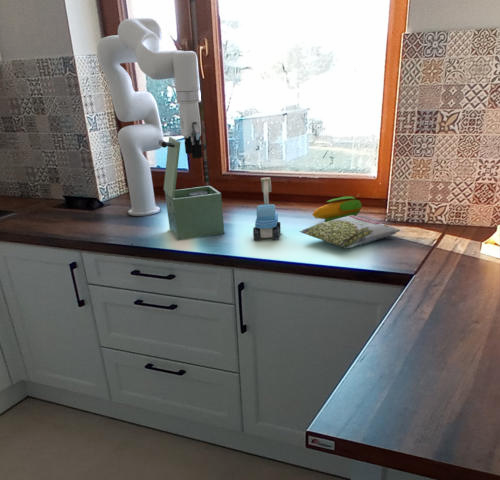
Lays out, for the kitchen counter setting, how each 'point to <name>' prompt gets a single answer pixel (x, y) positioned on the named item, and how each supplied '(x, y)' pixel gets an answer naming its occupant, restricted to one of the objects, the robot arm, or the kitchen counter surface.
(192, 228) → the green box
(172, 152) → the green box lid
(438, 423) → the kitchen counter surface
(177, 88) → the robot arm
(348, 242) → the frozen beans
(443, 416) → the kitchen counter surface
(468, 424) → the kitchen counter surface
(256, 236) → the toy excavator
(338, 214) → the corn
